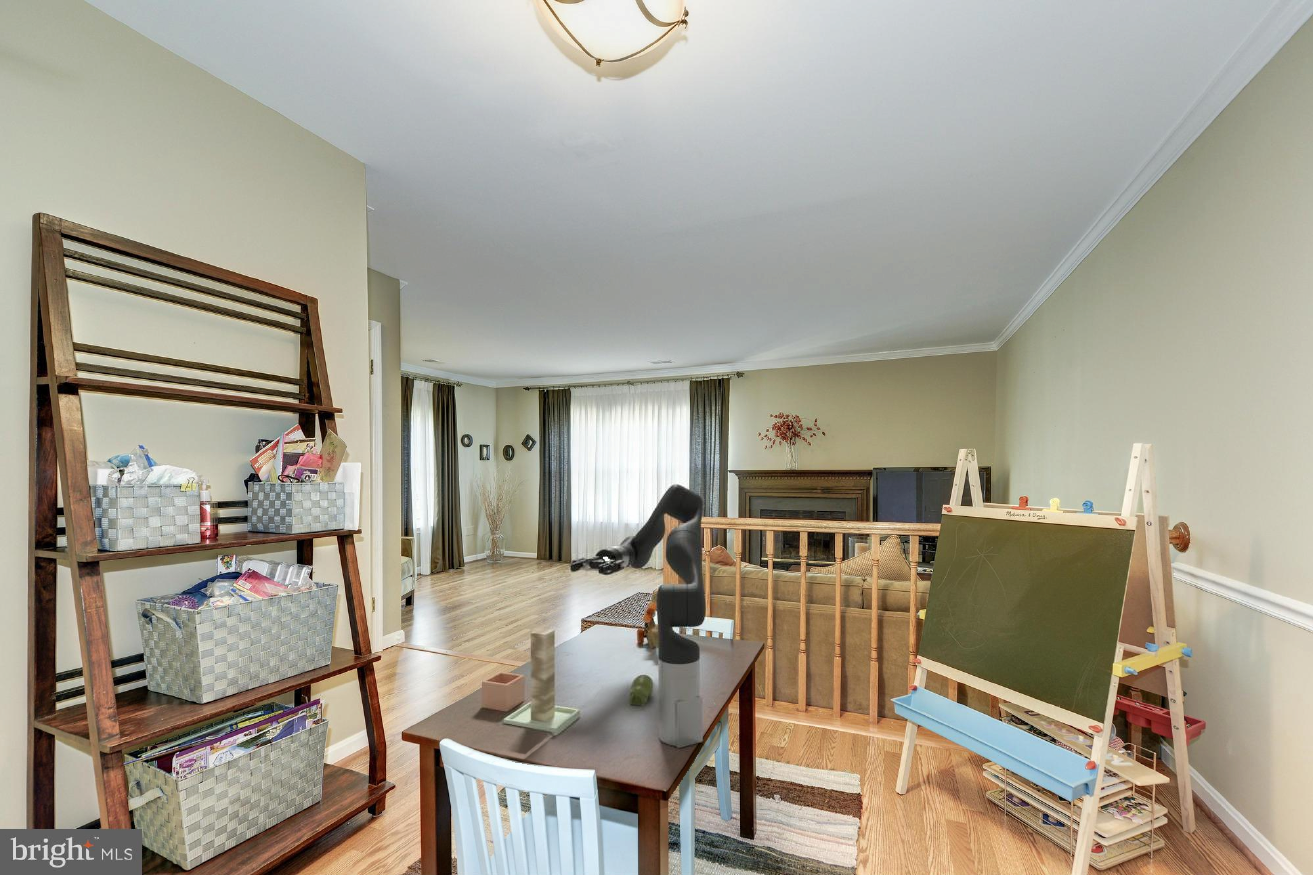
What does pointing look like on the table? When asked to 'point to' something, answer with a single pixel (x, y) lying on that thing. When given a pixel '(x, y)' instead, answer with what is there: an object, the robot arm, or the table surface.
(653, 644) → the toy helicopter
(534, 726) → the tray
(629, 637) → the table surface
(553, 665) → the post
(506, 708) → the salmon pink open box
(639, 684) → the pear
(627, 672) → the table surface
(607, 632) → the table surface
